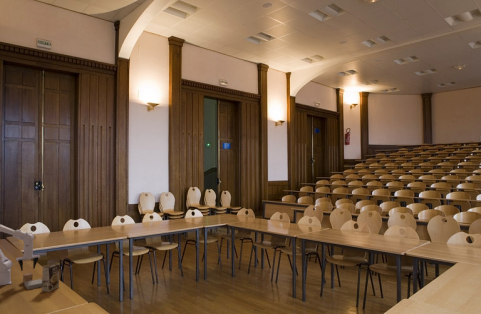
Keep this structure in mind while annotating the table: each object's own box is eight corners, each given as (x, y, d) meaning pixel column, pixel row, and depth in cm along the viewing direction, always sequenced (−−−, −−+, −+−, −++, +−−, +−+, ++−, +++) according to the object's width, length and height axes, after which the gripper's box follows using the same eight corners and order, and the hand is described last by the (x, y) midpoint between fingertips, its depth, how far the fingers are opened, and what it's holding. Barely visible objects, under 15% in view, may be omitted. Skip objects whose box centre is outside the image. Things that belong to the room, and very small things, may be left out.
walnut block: (23, 282, 255) (23, 274, 255) (30, 280, 259) (31, 272, 259) (24, 284, 252) (24, 275, 252) (32, 282, 255) (32, 274, 255)
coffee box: (49, 292, 237) (50, 268, 238) (41, 291, 239) (42, 267, 239) (59, 287, 246) (59, 264, 247) (51, 286, 248) (51, 263, 248)
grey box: (24, 286, 249) (24, 282, 249) (40, 283, 255) (40, 279, 255) (27, 290, 241) (27, 285, 241) (44, 286, 248) (44, 282, 248)
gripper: (17, 253, 248) (17, 272, 247) (40, 250, 257) (40, 268, 257) (15, 251, 253) (15, 270, 253) (38, 248, 262) (38, 266, 262)
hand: (27, 269), depth 255 cm, fingers open, 7 cm apart
